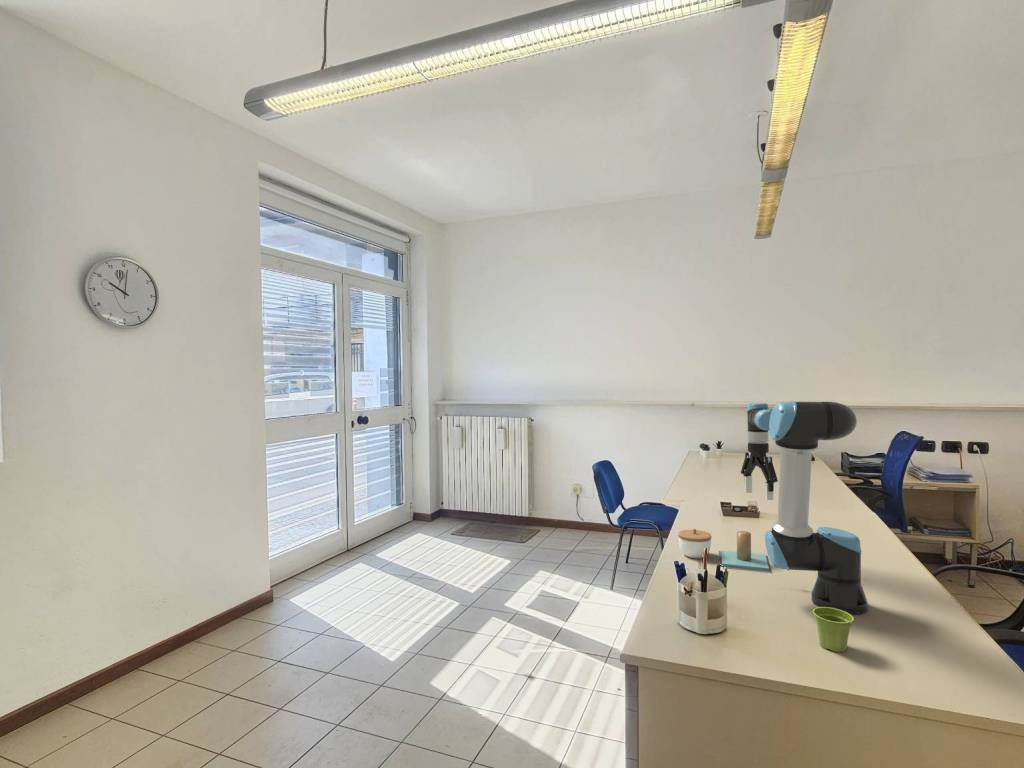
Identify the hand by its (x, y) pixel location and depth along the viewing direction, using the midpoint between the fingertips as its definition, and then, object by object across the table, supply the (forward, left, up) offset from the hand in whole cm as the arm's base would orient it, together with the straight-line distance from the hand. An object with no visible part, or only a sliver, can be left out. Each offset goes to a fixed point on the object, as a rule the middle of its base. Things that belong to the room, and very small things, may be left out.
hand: (758, 496), depth 213 cm
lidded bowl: (-6, +24, -25) cm, 35 cm away
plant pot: (-69, -13, -25) cm, 75 cm away
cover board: (-8, +6, -24) cm, 26 cm away
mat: (-8, +6, -24) cm, 26 cm away
